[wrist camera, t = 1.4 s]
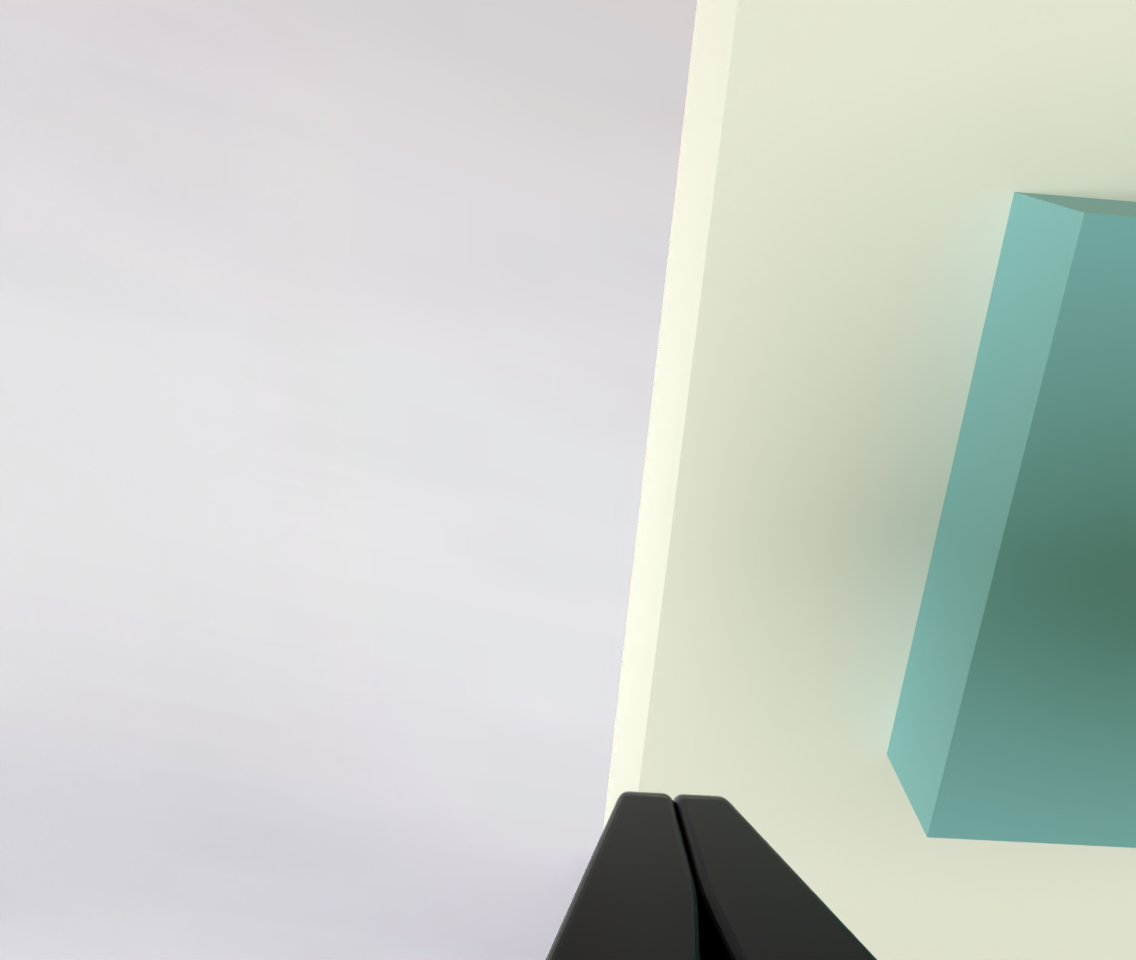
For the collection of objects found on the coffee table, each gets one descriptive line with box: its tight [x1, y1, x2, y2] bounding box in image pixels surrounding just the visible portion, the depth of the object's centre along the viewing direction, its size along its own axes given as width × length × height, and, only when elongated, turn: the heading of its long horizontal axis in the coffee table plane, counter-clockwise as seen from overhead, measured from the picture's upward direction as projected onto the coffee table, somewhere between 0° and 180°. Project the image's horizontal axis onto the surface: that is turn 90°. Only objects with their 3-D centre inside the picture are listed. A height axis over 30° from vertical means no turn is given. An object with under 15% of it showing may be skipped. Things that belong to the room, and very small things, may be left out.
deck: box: [603, 0, 1136, 960], centre depth 18 cm, size 20×12×4 cm, turn 175°
